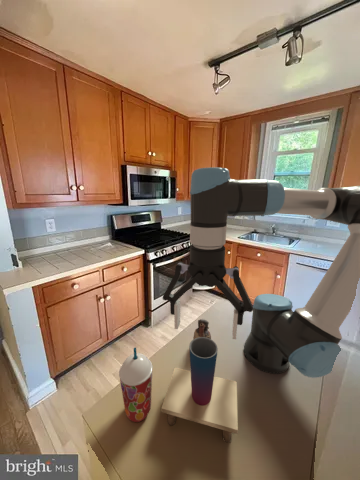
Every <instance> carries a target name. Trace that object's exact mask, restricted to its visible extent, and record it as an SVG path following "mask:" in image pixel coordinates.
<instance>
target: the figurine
mask: <svg viewBox="0 0 360 480" xmlns="http://www.w3.org/2000/svg"><path fill="white" fill-rule="evenodd" d="M209 328H210V327H209V321H208V320H206V319H205V318H202V319H198V321H197V328H196V329H195V330H194V333H193V339H195V338H198V337H206V338H209V339H211V340H212V336H211V332H210V331H209ZM193 339H192V340H193Z"/></svg>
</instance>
